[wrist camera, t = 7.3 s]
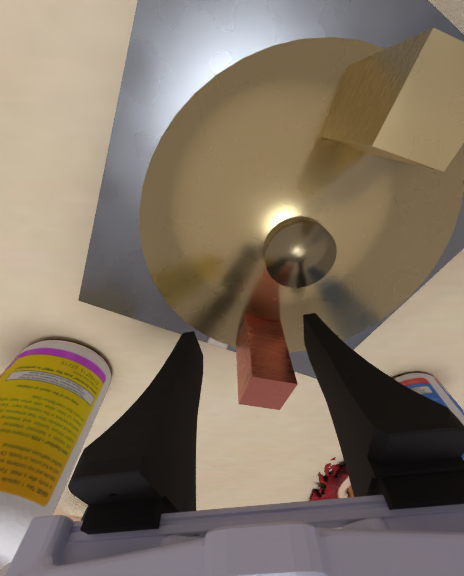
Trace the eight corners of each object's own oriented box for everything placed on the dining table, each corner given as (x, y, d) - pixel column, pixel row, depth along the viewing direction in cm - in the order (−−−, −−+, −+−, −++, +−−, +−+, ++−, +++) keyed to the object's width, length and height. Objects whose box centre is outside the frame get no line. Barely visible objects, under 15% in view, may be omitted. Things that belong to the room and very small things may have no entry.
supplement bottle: (17, 326, 17) (-313, 653, 7) (116, 345, 19) (-31, 648, 8) (29, 383, 21) (-176, 658, 10) (111, 396, 22) (5, 654, 11)
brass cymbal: (515, 122, 10) (750, 124, 6) (341, 351, 18) (381, 432, 13) (170, -25, 8) (92, -224, 3) (137, 311, 15) (99, 393, 11)
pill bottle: (361, 403, 23) (433, 553, 15) (395, 366, 21) (505, 526, 12) (412, 410, 24) (505, 555, 16) (451, 375, 21) (589, 531, 13)
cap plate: (188, -191, 7) (183, -239, 6) (552, 141, 12) (580, 143, 11) (86, 290, 16) (77, 301, 15) (316, 369, 21) (320, 381, 20)
